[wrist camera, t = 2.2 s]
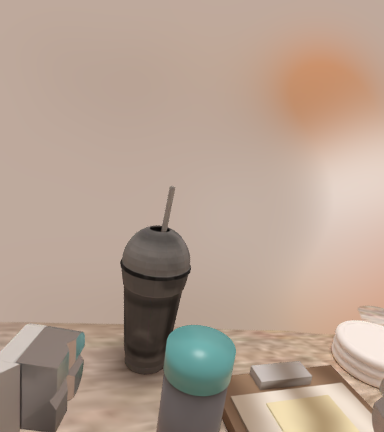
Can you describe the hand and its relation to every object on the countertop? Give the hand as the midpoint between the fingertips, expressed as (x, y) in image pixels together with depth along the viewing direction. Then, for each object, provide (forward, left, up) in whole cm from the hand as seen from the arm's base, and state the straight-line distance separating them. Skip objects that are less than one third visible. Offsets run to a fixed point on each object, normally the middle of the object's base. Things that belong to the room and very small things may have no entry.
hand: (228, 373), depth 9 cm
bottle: (+4, +11, -20) cm, 23 cm away
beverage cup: (+4, +25, -20) cm, 32 cm away
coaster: (+32, +21, -20) cm, 43 cm away
